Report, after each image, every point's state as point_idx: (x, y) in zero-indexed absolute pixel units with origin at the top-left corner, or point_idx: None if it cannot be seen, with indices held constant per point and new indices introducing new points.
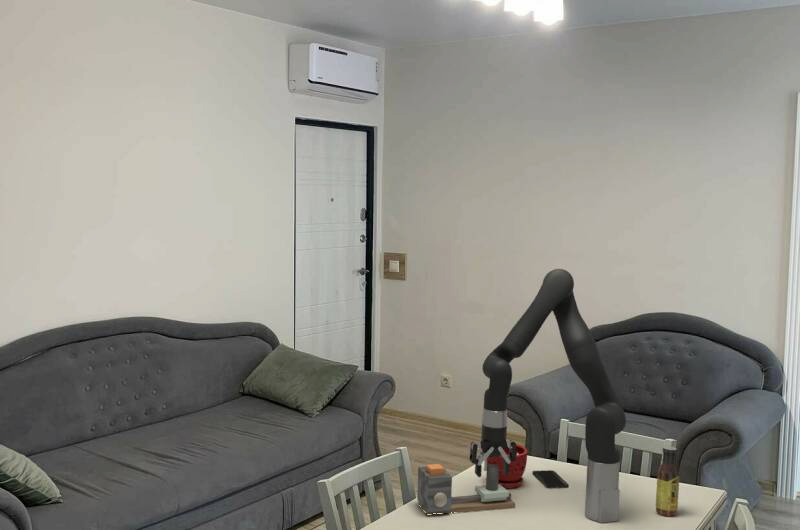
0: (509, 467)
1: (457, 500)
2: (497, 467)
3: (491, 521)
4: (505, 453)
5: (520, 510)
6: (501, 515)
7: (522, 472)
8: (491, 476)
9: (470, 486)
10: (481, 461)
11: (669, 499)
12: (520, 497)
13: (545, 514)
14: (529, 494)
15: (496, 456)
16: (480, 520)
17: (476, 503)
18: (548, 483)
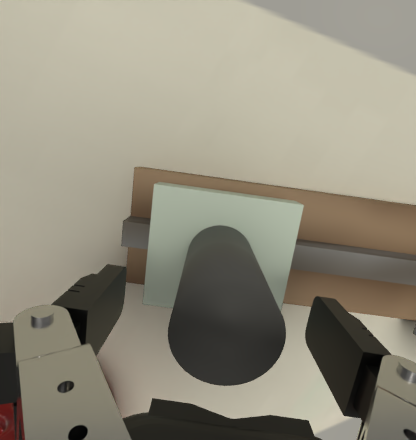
0: (1, 426)
1: (395, 256)
2: (202, 290)
3: (324, 64)
4: (24, 406)
5: (132, 132)
6: (243, 111)
7: None
8: (254, 262)
9: None
10: (401, 387)
11: None
12: (60, 259)
13: (45, 45)
14: (7, 274)
15: (194, 409)
16: (361, 94)
17: (305, 225)
18: None
